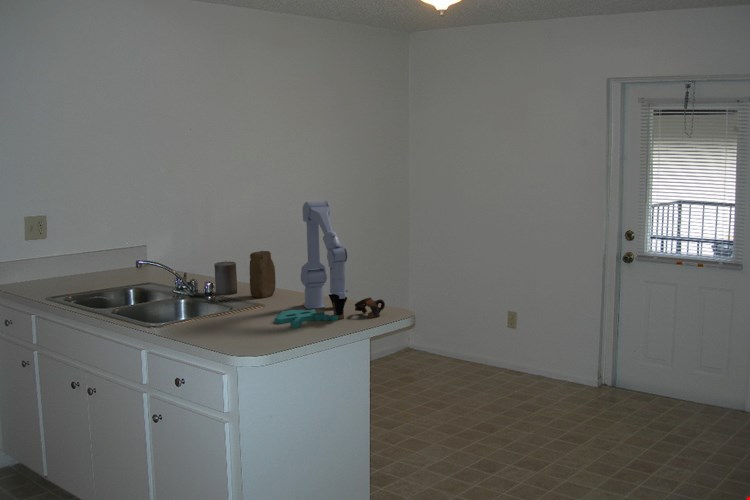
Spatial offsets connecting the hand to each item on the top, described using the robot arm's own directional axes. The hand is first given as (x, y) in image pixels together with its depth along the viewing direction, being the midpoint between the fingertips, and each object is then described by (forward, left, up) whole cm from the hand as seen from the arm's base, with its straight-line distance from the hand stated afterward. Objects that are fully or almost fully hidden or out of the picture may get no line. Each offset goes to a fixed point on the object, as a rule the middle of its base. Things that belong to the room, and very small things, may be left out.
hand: (338, 313), depth 298 cm
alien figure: (-2, -14, -2) cm, 14 cm away
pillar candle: (-65, -37, -2) cm, 75 cm away
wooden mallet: (0, -3, -2) cm, 4 cm away
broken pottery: (0, +13, -2) cm, 13 cm away
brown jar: (-52, -22, -2) cm, 57 cm away
